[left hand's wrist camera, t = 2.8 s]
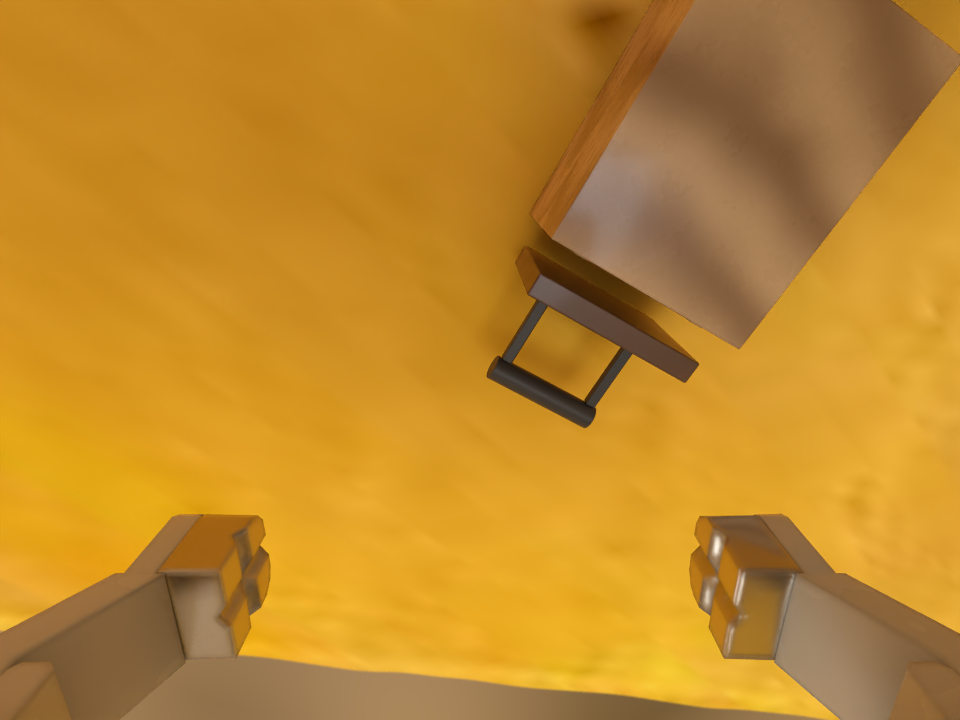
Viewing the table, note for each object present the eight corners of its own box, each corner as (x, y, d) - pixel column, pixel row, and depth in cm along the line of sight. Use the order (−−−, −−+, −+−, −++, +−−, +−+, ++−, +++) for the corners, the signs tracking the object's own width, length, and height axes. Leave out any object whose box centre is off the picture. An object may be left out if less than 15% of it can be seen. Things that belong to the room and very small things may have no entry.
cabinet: (670, 297, 35) (739, 350, 26) (528, 213, 33) (550, 238, 24) (821, 84, 31) (965, 57, 22) (669, -27, 29) (759, -106, 20)
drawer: (589, 409, 37) (618, 473, 30) (466, 344, 35) (465, 395, 28) (773, 147, 31) (864, 146, 24) (638, 53, 29) (692, 23, 22)
